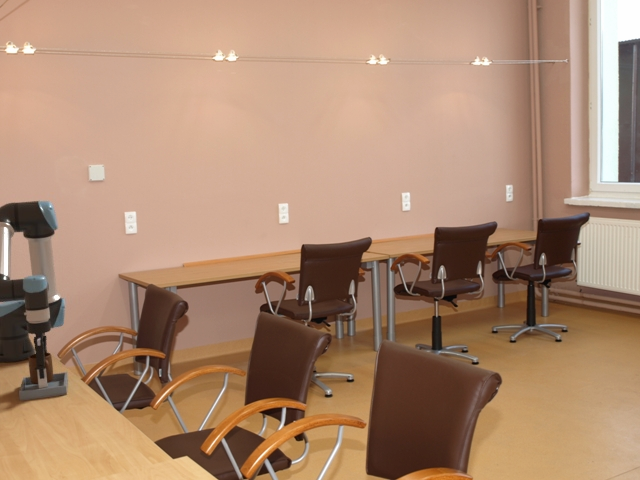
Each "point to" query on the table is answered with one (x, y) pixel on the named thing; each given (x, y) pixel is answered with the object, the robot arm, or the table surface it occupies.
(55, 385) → the tray
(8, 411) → the table surface
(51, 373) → the mug
